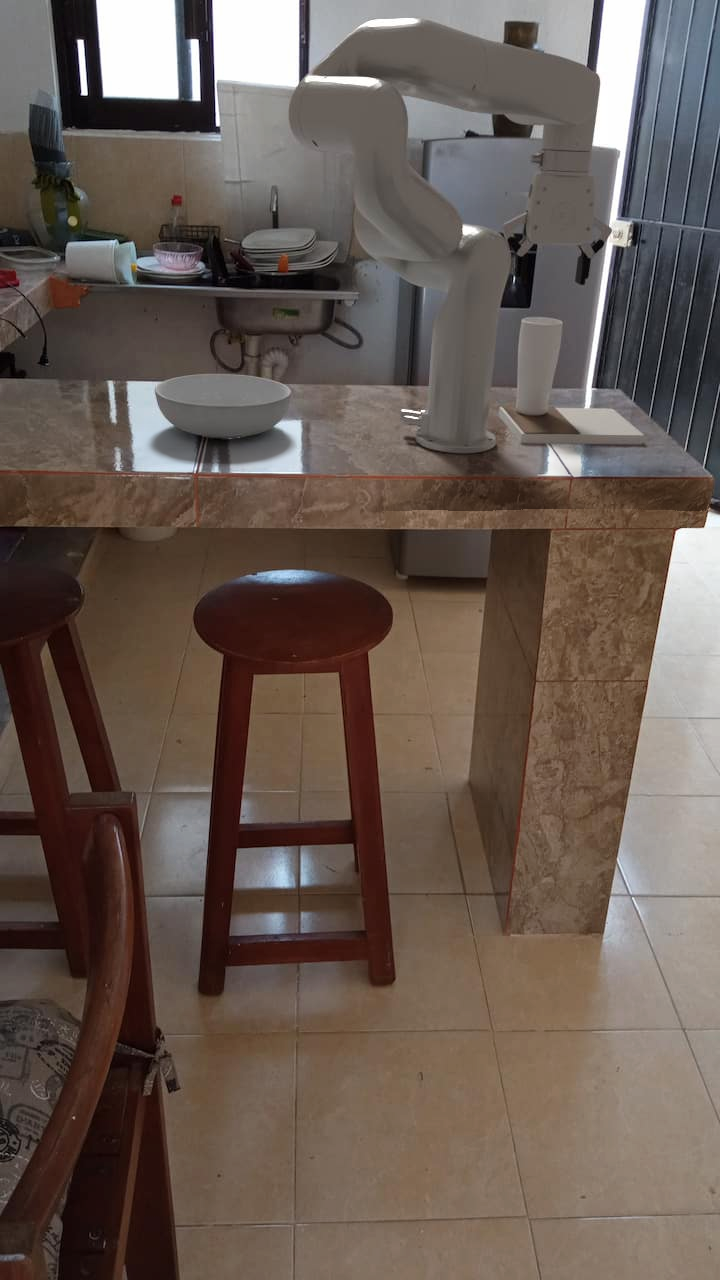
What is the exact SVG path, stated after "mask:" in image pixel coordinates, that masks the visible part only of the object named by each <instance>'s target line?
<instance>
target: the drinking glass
mask: <svg viewBox="0 0 720 1280" xmlns="http://www.w3.org/2000/svg"><path fill="white" fill-rule="evenodd" d="M563 324H564V322H563V321H562V320H560V319H558V318H551V317H544V316H529V317H524V318H521V323H520V328H519V336H518V348H517V378H516V379H517V380H516V381H517V382H516V383H517V386H516V387H517V388H516V403H515V406H516V410H517V412H519V413H521V414H524V415H529V416H540V415H544V414H546V413H547V411H548V407H549V403H550V397H551V393H552V388H553V383H554V378H555V375H556V369H557V365H558V360H559V355H560V351H561V344H562V337H563Z"/></svg>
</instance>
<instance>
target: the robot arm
mask: <svg viewBox="0 0 720 1280" xmlns="http://www.w3.org/2000/svg"><path fill="white" fill-rule="evenodd" d="M600 89H601V77H600V75H599V74H598V73H597V72H596V71H593V70H591V69H590V68H589V67H588V66H587V65H585V64H583V63H580V62H577V61H575V60H572V59H570V58H567V57H564V56H563V57H562V56H559V55H556V54H552V53H547V52H543V51H537V50H534V49H533V50H532V49H528V48H523V47H520V46H517V45H516V46H515V45H512V44H509V43H508V44H507V43H504V42H499V41H493V40H489V39H486V38H483V37H479V36H476V35H473V34H470V33H467V32H464V31H463V30H459V29H457V28H454V27H450V26H447V25H444V24H442V23H438V22H435V21H433V20H429V19H424V18H417V17H416V18H413V17H411V18H409V17H408V18H388V19H386V18H385V19H384V18H383V19H374V20H373V19H372V20H369V21H366V22H365V23H363V24H361V25H360V26H358V27H356V28H355V29H354V30H353V31H351V32H350V33H349V34H348V35H347V36H345V37H344V38H343V39H342V40H341V41H340V42H338V44H337V45H335V46H334V48H333V49H332V50H330V51H329V53H328V54H326V56H324V57H323V58H322V60H320V61H319V62H318V63H317V64H316V65H314V67H312V69H311V70H310V71H309V72H308V73H307V74H306V75H305V76H304V77H303V78H302V79H301V80H300V81H299V83H298V84H297V85H296V87H295V88H294V91H293V93H292V95H291V97H290V101H289V106H288V122H289V126H290V129H291V132H292V134H293V136H294V138H295V139H296V140H297V141H298V142H299V143H300V144H301V145H303V146H304V147H305V148H307V149H309V150H311V151H314V152H315V151H316V152H321V153H332V154H344V155H345V154H346V155H353V157H354V158H353V161H354V163H353V194H352V195H353V203H354V204H355V208H354V212H353V213H354V214H353V227H354V232H355V233H354V234H355V237H356V238H357V241H358V243H359V244H360V246H361V247H362V249H363V250H364V251H365V252H366V253H367V254H368V255H369V256H370V257H372V258H373V259H375V260H376V261H377V262H379V263H380V264H382V265H383V266H384V267H385V268H387V269H389V270H390V271H391V272H393V273H394V274H395V275H398V276H399V277H400V278H402V279H403V280H404V281H406V282H408V283H410V284H412V285H414V286H416V287H420V288H426V289H430V290H434V291H441V292H444V293H447V295H446V297H445V299H444V301H443V303H442V304H441V306H440V308H439V309H438V311H437V312H436V315H435V317H434V321H433V323H432V334H431V350H430V351H431V352H430V363H429V377H428V378H429V380H428V391H427V392H428V395H427V405H426V407H427V408H426V409H421V411H418V410H417V411H416V410H414V409H405V408H402V409H401V412H400V416H399V417H400V422H403V425H406V426H407V425H408V426H416V427H417V428H418V430H416V432H415V439H414V440H415V442H416V443H417V444H419V445H420V446H422V447H424V448H426V449H430V450H433V451H438V452H441V453H442V452H443V453H449V454H450V453H451V454H475V453H476V454H477V453H482V452H486V451H489V450H491V449H493V448H494V447H495V446H496V441H497V437H496V435H495V434H494V433H492V432H491V431H489V430H488V423H489V415H490V414H489V412H490V403H491V402H490V401H491V393H492V384H493V383H492V382H493V371H494V363H495V362H494V361H495V354H496V343H497V342H496V340H497V332H498V324H499V315H500V309H501V303H502V300H503V295H504V293H505V292H504V291H505V288H506V285H507V283H508V282H507V281H508V278H509V274H510V271H511V266H512V253H511V250H512V251H513V253H514V254H515V261H514V268H513V269H514V270H513V276H514V278H515V280H516V282H518V283H519V284H525V283H526V279H527V278H526V277H527V272H528V271H527V270H528V261H529V260H528V259H529V258H528V256H527V253H528V251H529V250H530V249H531V248H532V247H533V246H534V245H541V246H542V245H543V246H567V247H568V246H569V247H570V246H571V247H572V246H573V247H574V246H576V247H577V248H578V249H579V251H580V252H581V253H580V255H579V256H578V257H577V263H576V269H575V270H576V272H575V277H574V282H575V283H576V284H578V285H580V286H585V285H586V280H588V279H589V276H590V275H589V274H590V268H591V260H592V258H594V257H595V255H596V254H597V253H598V252H599V251H600V250H601V249H602V248H603V247H604V246H605V243H606V242H607V241H608V239H609V237H610V236H611V234H612V232H613V229H612V227H610V226H609V225H607V224H606V223H604V222H603V221H601V220H599V219H598V218H597V217H595V215H594V214H595V199H596V198H595V196H596V194H595V190H596V188H595V187H596V185H595V176H594V175H592V174H590V167H591V159H592V151H593V145H594V144H593V143H594V137H595V129H596V128H595V126H596V122H597V121H596V120H597V115H598V114H597V113H598V105H599V100H600V99H599V97H600ZM403 96H404V97H405V96H406V97H411V98H415V99H416V98H417V99H420V100H423V101H427V102H432V103H437V104H441V105H444V106H448V107H452V108H454V109H458V110H461V111H464V112H465V111H466V112H470V113H478V114H488V115H504V116H505V117H506V118H507V119H508V120H510V121H511V122H513V123H516V124H519V125H526V126H543V129H542V137H541V145H540V146H541V148H540V149H539V152H537V153H536V154H535V153H531V154H530V158H529V159H530V165H535V166H536V167H537V169H538V172H534V173H533V176H532V180H531V183H530V186H529V190H528V195H527V200H526V205H525V209H524V212H523V213H522V214H519V215H518V216H516V217H514V218H511V219H510V220H508V221H505V222H504V223H502V224H501V231H502V234H501V233H499V232H498V231H496V230H494V229H492V228H489V227H485V226H484V225H476V224H471V223H463V221H462V218H461V215H460V213H459V211H458V210H457V208H456V207H455V204H453V202H451V201H450V199H448V198H447V197H446V196H445V195H444V194H443V193H441V192H440V191H439V190H438V189H437V188H436V187H434V186H433V185H432V184H431V183H430V182H429V181H427V180H426V179H425V178H424V177H422V176H421V175H420V174H419V173H418V172H417V171H416V170H415V169H414V168H413V167H412V165H411V164H410V162H409V154H408V139H409V138H408V137H409V135H408V134H409V116H408V110H407V106H406V104H405V100H404V98H403ZM521 226H522V239H521V240H520V241H518V239H516V238H515V234H514V230H515V229H517V228H520V227H521ZM593 228H594V229H595V230H597V232H598V235H597V237H596V239H594V240H593V241H592V242H591V240H592V237H593ZM590 242H591V243H590Z"/></svg>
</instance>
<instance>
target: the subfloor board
mask: <svg viewBox="0 0 720 1280" xmlns="http://www.w3.org/2000/svg"><path fill="white" fill-rule="evenodd" d="M555 408H556V409H557V410H558V411H559V412H560V413H561V414H562V415H563V416H564V417H565V418H566V419H567V420H568V421H569V422H570V423H571V424H572V425H573V426H574V427H575V428H576V429H577V430H578V431H579V432H580V434H525V433H524V432H523V431H522V430H521V429H520V427H519V426H518V425H517V424H516V423H515V422H514V420H513V419H512V418H511V417H510V416H509V414H508V413H507V412H506V411H505V410H504V408H503V406H499V409H498V417H499V418H500V420H501V421H502V422H503V423H504V425H505V426H506V427H507V428H508V430H509V431H510V432H511V433H512V435H513V436H514V437H515V438H516V440H517V441H518V442H519V443H520V444H546V445H547V444H548V445H549V444H550V445H551V444H554V445H555V444H556V445H558V444H560V445H561V444H562V445H564V444H569V445H570V444H571V445H574V444H575V445H576V444H577V445H578V444H579V445H643V444H644V438H645V434H643V432H641V431H640V430H638V428H636V427H635V426H634V425H633V424H632V423H630V422H629V421H628V420H627V419H626V418H624V416H622V415H621V414H620V413H618V412H617V411H616V410H615V409H613V408H599V407H598V408H595V407H594V408H592V407H591V408H589V407H588V408H586V407H583V408H582V407H581V408H580V407H555Z"/></svg>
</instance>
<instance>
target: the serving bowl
mask: <svg viewBox="0 0 720 1280" xmlns="http://www.w3.org/2000/svg"><path fill="white" fill-rule="evenodd" d="M154 395H155V399H156V403H157V406H158V409H159V411H160V413H161V414H162V415H163V417H164V418H165V419H166V420H167V421H168V422H169V423H170V424H171V425H173V426H174V427H176V428H177V429H180V430H182V431H184V432H187V433H189V434H194V435H197V436H200V435H201V437H203V436H205V437H204V438H207V437H210V438H209V439H213V438H223V439H222V440H227V439H226V438H237V439H239V438H238V437H243V436H246V437H251V436H253V435H258V434H261V433H263V432H266V431H268V430H271V429H272V428H274V427H275V426H276V425H277V424H279V423H280V422H281V421H282V420H283V419H284V417H285V415H286V414H287V412H288V409H289V406H290V403H291V398H292V397H291V396H292V390H291V388H290V387H288V386H287V385H285V384H283V383H281V382H279V381H276V380H272V379H269V378H264V377H259V376H254V375H253V376H252V375H245V374H232V373H231V374H230V373H229V374H228V373H203V374H191V375H183V376H179V377H173V378H172V377H171V378H170V379H167V380H164V381H161V382H160V383H158V384H157V385H156V386H155V387H154ZM243 438H244V437H243Z"/></svg>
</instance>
